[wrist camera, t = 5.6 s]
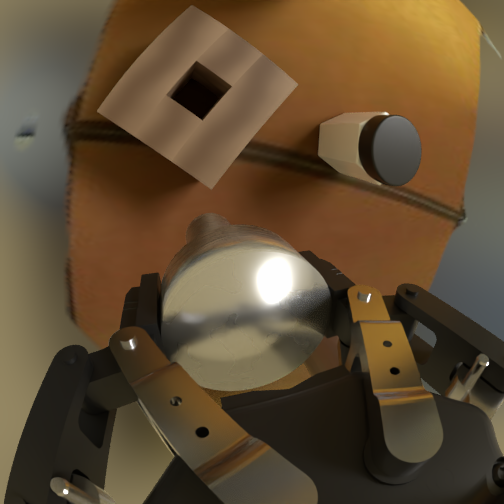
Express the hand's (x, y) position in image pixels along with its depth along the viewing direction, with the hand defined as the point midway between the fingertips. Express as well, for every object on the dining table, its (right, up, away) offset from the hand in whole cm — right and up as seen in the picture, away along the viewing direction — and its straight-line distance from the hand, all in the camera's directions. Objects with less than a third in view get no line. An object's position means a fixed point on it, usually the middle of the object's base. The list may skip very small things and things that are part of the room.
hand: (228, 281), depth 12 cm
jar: (+14, +17, +24) cm, 32 cm away
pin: (-2, +2, +5) cm, 6 cm away
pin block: (-6, +19, +17) cm, 26 cm away
